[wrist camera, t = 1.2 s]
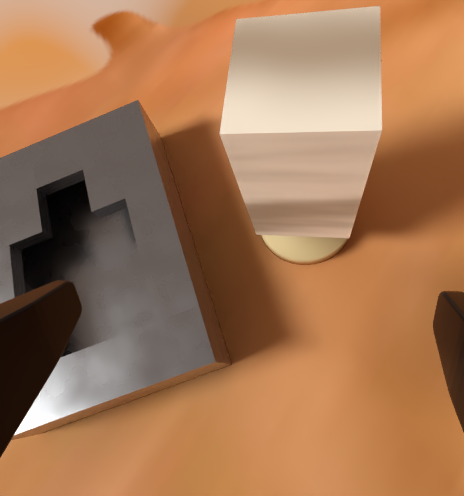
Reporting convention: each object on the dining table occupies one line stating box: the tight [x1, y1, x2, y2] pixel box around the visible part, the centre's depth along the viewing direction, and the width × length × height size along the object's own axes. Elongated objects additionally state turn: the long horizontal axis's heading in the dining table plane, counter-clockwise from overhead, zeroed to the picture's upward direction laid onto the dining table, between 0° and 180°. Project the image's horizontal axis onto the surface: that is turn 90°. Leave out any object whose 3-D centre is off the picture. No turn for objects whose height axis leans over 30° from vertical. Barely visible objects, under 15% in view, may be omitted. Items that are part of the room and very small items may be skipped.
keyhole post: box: [220, 6, 382, 265], centre depth 18 cm, size 6×6×13 cm
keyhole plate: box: [0, 100, 231, 440], centre depth 24 cm, size 18×13×4 cm
